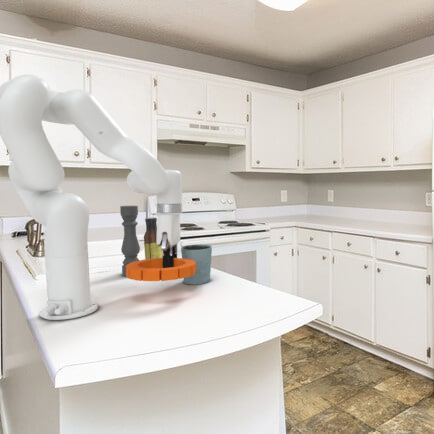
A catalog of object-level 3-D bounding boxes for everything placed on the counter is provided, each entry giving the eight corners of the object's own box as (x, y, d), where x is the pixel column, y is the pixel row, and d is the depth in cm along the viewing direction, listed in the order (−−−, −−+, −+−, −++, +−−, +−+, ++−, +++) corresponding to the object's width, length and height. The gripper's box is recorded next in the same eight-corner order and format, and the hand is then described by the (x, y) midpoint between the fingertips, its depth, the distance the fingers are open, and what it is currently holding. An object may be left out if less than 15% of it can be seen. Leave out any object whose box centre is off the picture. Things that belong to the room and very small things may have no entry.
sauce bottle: (165, 266, 160) (164, 216, 158) (159, 270, 154) (157, 218, 152) (149, 266, 161) (147, 216, 158) (142, 270, 154) (139, 218, 152)
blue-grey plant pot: (198, 276, 146) (197, 243, 145) (219, 280, 141) (218, 246, 140) (175, 282, 137) (174, 247, 136) (196, 286, 132) (195, 250, 131)
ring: (186, 281, 113) (186, 270, 113) (115, 281, 111) (115, 270, 111) (201, 267, 132) (201, 258, 132) (141, 266, 130) (141, 257, 130)
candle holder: (133, 277, 144) (130, 207, 142) (118, 276, 146) (115, 206, 143) (144, 273, 150) (142, 205, 148) (129, 272, 152) (127, 205, 149)
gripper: (165, 207, 136) (166, 261, 137) (148, 211, 120) (148, 272, 121) (188, 208, 136) (188, 262, 138) (174, 211, 120) (174, 272, 122)
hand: (170, 266), depth 130 cm, fingers closed on ring, 3 cm apart
